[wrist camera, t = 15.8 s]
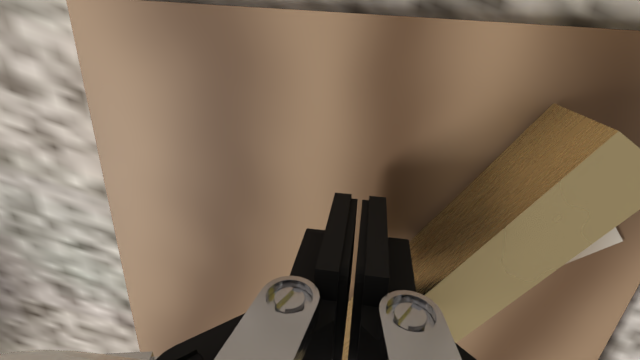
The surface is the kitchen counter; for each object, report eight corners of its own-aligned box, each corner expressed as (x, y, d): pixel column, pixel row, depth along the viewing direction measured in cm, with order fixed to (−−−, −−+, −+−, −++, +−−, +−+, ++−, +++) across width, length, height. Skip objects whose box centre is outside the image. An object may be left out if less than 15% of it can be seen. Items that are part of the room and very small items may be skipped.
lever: (638, 171, 10) (730, 223, 8) (328, 412, 17) (318, 485, 14) (511, 68, 10) (561, 84, 7) (241, 358, 16) (214, 424, 14)
